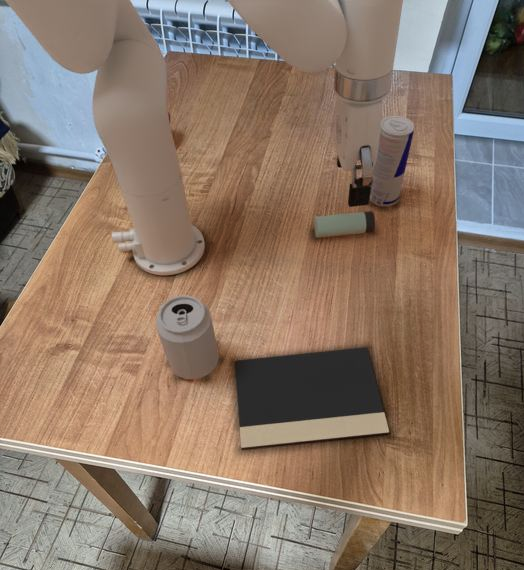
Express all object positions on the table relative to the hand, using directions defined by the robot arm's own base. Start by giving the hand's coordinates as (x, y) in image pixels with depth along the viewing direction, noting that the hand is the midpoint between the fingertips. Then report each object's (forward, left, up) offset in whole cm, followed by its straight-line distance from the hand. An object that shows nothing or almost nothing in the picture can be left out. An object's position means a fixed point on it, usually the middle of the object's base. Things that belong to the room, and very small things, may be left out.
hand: (352, 184), depth 82 cm
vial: (-1, 0, -10) cm, 10 cm away
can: (-28, -24, -11) cm, 38 cm away
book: (-12, -32, -10) cm, 36 cm away
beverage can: (+8, +8, -11) cm, 16 cm away
